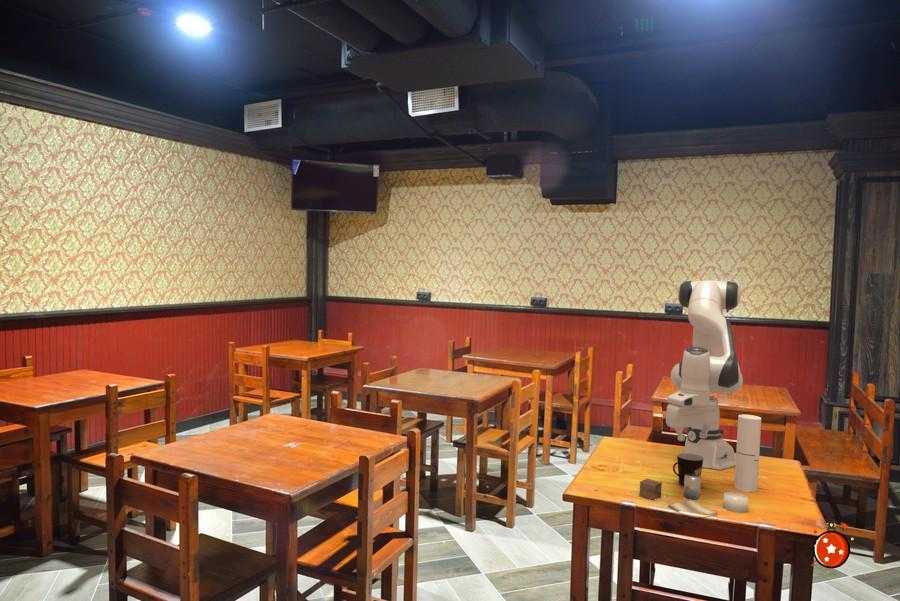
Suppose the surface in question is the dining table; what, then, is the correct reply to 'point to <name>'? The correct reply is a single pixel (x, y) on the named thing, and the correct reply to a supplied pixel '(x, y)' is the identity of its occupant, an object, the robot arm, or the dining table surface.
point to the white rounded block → (735, 502)
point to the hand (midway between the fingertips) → (692, 439)
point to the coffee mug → (688, 465)
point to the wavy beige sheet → (692, 508)
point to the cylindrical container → (747, 453)
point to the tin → (692, 486)
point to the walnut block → (650, 489)
